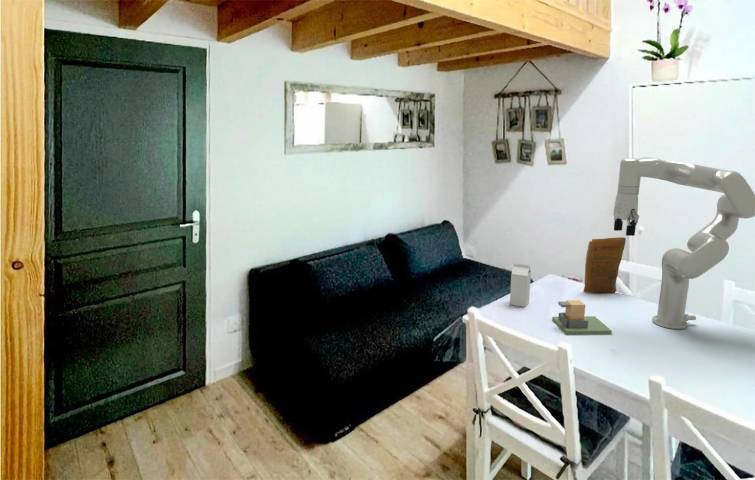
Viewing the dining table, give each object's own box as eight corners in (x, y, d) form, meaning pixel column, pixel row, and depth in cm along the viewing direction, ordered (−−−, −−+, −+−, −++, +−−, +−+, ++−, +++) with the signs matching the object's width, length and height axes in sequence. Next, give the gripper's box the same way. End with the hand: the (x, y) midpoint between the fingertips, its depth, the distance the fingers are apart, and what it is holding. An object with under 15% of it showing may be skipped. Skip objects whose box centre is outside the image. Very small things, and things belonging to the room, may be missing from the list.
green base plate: (594, 319, 203) (595, 309, 202) (611, 334, 189) (612, 323, 188) (552, 320, 203) (552, 310, 202) (565, 334, 189) (566, 323, 188)
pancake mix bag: (623, 294, 234) (629, 238, 228) (584, 294, 234) (589, 238, 228) (616, 289, 241) (622, 235, 235) (578, 290, 241) (583, 235, 235)
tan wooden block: (577, 320, 198) (579, 300, 196) (583, 326, 193) (585, 304, 191) (556, 321, 198) (557, 300, 196) (561, 326, 193) (562, 305, 191)
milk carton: (525, 307, 218) (527, 267, 214) (509, 304, 222) (511, 265, 217) (529, 302, 224) (531, 263, 220) (513, 300, 227) (516, 261, 223)
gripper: (608, 187, 197) (604, 228, 200) (630, 193, 180) (625, 237, 183) (626, 187, 197) (622, 228, 200) (650, 193, 180) (645, 237, 183)
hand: (623, 232), depth 192 cm, fingers open, 9 cm apart
